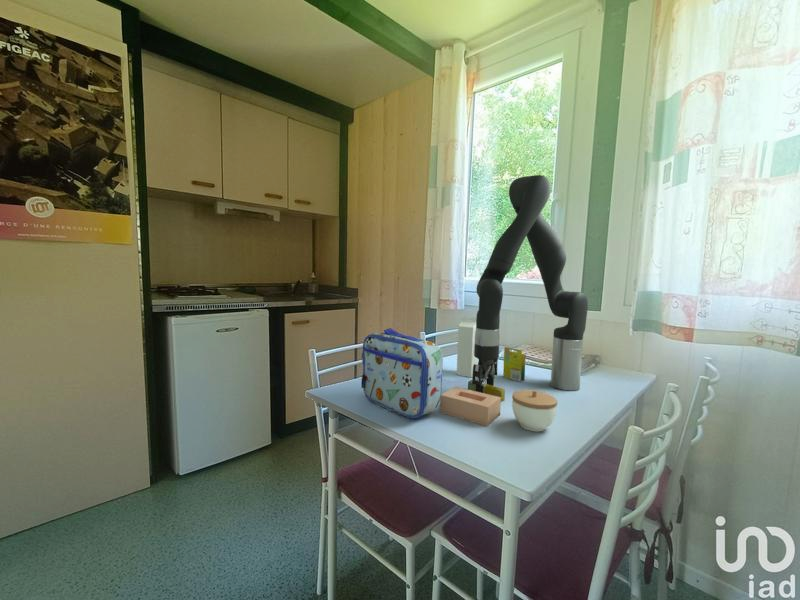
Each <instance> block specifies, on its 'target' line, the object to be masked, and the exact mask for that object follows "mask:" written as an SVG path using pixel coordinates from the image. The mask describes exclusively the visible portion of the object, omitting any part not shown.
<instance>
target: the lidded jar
mask: <svg viewBox="0 0 800 600" xmlns="http://www.w3.org/2000/svg"><path fill="white" fill-rule="evenodd" d="M511 395H512V396H511V397H512V402H511V403H512V405H511V406H512V411H513V415H514V418H515V419H516V421H517V422H518V423H519V424H520V427H522V428H523V429H525V430H527V431H530V432H544V431H545V430H546V429H547V428H548V427H549V426H551V425H552V424H553V422H554V420H555V417H556V412H557V405H558V399H557V398H556V397H555V396H553V395H551V394H549V393H546V392H543V391H537V390H535V389H534V390H533V389H532V390H530V389H521V390H517V391H514V392H513V393H512V394H511Z"/></svg>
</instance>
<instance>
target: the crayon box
mask: <svg viewBox="0 0 800 600" xmlns="http://www.w3.org/2000/svg"><path fill="white" fill-rule="evenodd" d="M522 351H523V350H522V349H517V348H513V347H512V348H511V347H508V346H504V352H503V374H502V375H503V377H502V378H503V379H510V380H512V381H516V382H520V383H521V381H522V382H524V381H525V377H526V375H525V374H526V373H525V372H526V355H527V354H525V353H523V352H522Z"/></svg>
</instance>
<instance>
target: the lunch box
mask: <svg viewBox="0 0 800 600" xmlns="http://www.w3.org/2000/svg"><path fill="white" fill-rule="evenodd" d="M443 355H444V354H443V351H442V350H441V348H440V346H439V345H438V344H436V343H434V342H432V341H429V340H425V339H422V338H417V337H415V336H410V335H404V334H402V333H400V332H397V331H396V330H394V329H393V328H392V327H389V328H386V329H384V330H383V332H381V333H376V332H375V333H371V334H368V335H367V336H365V338H364V340H363V344H362V353H361V357H360V358H361V359H362V360H361V361H362V364H363V365H362V375H361V389H363V393H364V395H365V397H366V399H368V400H369V401H370V402H371V403H374V404H376V405H378V406H380V407H383V408H384V409H387V410H388V411H390V412H394V413H396V414H399V415H400V416H401V415H402V416H405V417H407V418H409V419H410V418H411V419H420V417H422V416H424V415H427V414H432V413H435V412H437V411H438V409H440V399H441V394H442V384H443V383H442V380H443V365H444V356H443Z"/></svg>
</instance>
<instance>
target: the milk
mask: <svg viewBox="0 0 800 600" xmlns="http://www.w3.org/2000/svg"><path fill="white" fill-rule="evenodd" d="M457 331H458V332H457V354H456V355H457V356H456V357H457V358H456V375H457V374H459V375H458V376H461V375H463V377H466V376H467V377H466V378H472V377H473V365H474V364H475V365H478V361H479V359H478V358H476V357H475V356H474V343H475V331H476V317H467V316H462V317H461V321H460V323H459V325H458V326H457Z"/></svg>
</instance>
